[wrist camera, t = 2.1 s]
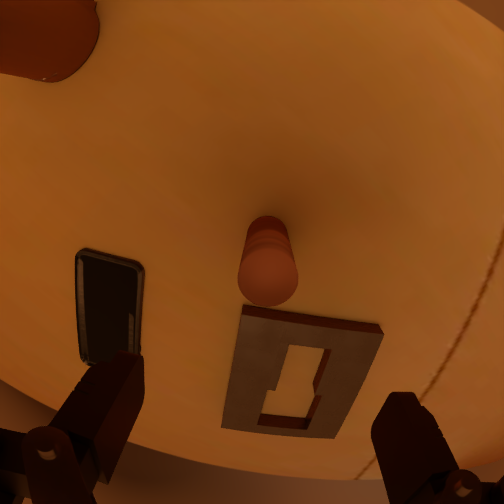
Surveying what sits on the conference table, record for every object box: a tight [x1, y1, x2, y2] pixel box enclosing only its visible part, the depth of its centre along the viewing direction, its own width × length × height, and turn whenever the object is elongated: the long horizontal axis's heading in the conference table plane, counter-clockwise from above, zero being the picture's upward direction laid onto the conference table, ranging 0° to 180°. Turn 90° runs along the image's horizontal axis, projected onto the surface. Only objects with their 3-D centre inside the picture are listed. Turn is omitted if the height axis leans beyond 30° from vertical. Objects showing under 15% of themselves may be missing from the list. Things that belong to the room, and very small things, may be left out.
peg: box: [238, 216, 298, 307], centre depth 23 cm, size 4×4×10 cm
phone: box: [75, 248, 145, 367], centre depth 31 cm, size 8×1×15 cm
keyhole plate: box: [221, 305, 384, 439], centre depth 31 cm, size 16×14×2 cm
